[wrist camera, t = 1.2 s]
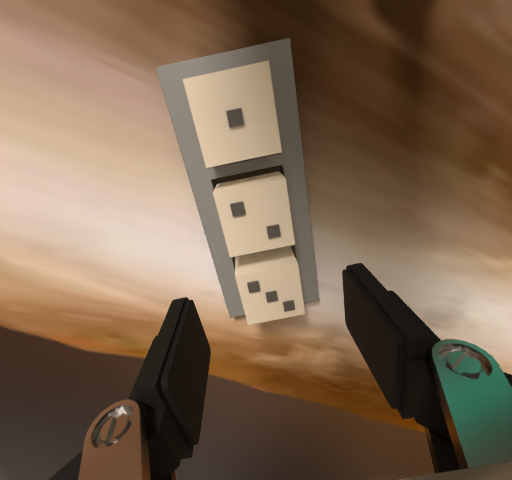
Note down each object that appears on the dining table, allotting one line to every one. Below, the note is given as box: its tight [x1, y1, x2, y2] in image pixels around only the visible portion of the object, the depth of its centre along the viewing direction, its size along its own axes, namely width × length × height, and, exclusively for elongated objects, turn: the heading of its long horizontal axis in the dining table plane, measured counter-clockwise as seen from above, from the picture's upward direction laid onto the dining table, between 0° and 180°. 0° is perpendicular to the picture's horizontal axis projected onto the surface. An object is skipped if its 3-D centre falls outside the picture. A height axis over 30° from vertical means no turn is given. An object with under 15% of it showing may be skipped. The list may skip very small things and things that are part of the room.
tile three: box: [235, 246, 305, 325], centre depth 26 cm, size 6×6×4 cm
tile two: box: [213, 171, 295, 257], centre depth 23 cm, size 6×6×4 cm
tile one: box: [183, 60, 282, 168], centre depth 20 cm, size 6×6×4 cm
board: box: [156, 38, 319, 318], centre depth 26 cm, size 11×26×2 cm, turn 11°
